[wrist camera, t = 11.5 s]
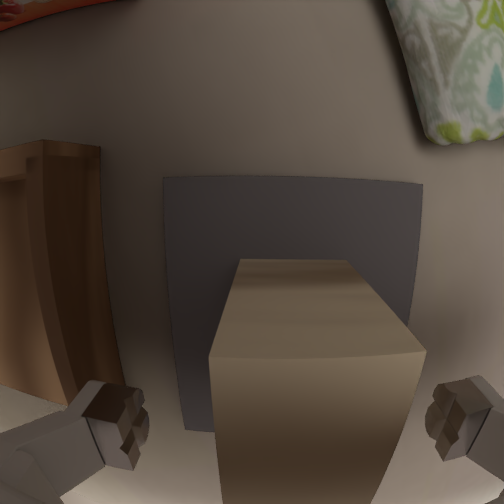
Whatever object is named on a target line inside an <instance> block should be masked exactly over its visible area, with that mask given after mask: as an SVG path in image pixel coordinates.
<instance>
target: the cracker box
mask: <svg viewBox="0 0 504 504" xmlns="http://www.w3.org/2000/svg"><path fill="white" fill-rule="evenodd" d="M108 1H114V0H0V31H2V30H5V29H7V28H10V27H12V26H15V25H18V24H21V23H24V22H27V21H30V20H33V19H36V18H40V17H43V16H46V15H50V14H53V13H57V12H61V11H65V10H69V9H73V8H78V7H82V6H87V5H92V4H96V3H103V2H108Z"/></svg>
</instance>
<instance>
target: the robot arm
mask: <svg viewBox="0 0 504 504" xmlns="http://www.w3.org/2000/svg"><path fill="white" fill-rule="evenodd" d="M433 398H434V400H435V401H434V402H433V403H432V404H431V405H430V406H429V407H428V410H427V413H426V416H425V427H426V431H427V433H428V435H429V437H431V438H433V439H434V440H436V445H435V448H436V449H437V451H438V453H439V455H440V457H441V459H442V460H443V462H444V461H448V460H451V459H455V458H459V457H462V456H465V455H467V456H466V457H468V458H469V459H471V460H472V461H474V462H475V463H477V464H478V465H480V466H481V467H483V468H484V469H486V470H487V471H489V472H490V473H492V474H493V475H495V476H496V477H498V478H499V479H501V480H502V481H504V399H503V398H502V397H501V396H500V395H499V394H498V393H497V392H496V391H495V389H494V388H493V387H492V386H491V385H490V384H489V383H488V382H487V381H486V380H485V379H484V378H483V377H482V376H479V375H477V376H473V377H469V378H466V379H463V380H458V381H453V382H448V383H442V384H438V385H437V387H436V388H435V390H434V393H433ZM144 401H145V399H144V396H143V392H142V390H141V389H139V388H135V387H129V386H123V385H118V384H112V383H106V382H101V381H96V380H90V381H88V382H87V383H86V385H85V386H84V387H83V388H82V390H81V391H80V392H79V393H78V395H77V396H76V397H75V398H74V400H73V401H72V402H71V403H70V405H69V406H68V407H67V409H66V410H65V411H64V412H62V411H57V412H55V413H52V414H50V415H47V416H45V417H42V418H40V419H37V420H35V421H32V422H30V423H27V424H24V425H22V426H19V427H16V428H14V429H11V430H8V431H5V432H3V433H0V504H64V503H63V501H62V500H61V499H60V496H62V495H63V494H65V493H66V492H68V491H69V490H71V489H73V488H74V487H76V486H77V485H79V484H80V483H82V482H83V481H85V480H86V479H87V478H89V477H90V476H92V475H93V474H95V473H96V472H98V471H99V470H101V469H102V468H103V467H105V465H108V466H112V467H117V468H122V469H127V470H132V471H134V468H135V466H136V464H137V461H138V459H139V457H140V451H139V448H138V447H140V446H141V445H143V444H145V442H146V440H147V437H148V432H149V417H148V412H147V411H146V410H145V409H144V408H143V407H142V405H143V403H144ZM485 504H504V489H503V490H502V492H501V493H500V495H499V497H498V498H496V499H494V500H492V501H490V502H488V503H485Z"/></svg>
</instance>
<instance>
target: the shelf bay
mask: <svg viewBox="0 0 504 504" xmlns="http://www.w3.org/2000/svg"><path fill="white" fill-rule="evenodd" d="M90 380H96V381H101V382H106V383H112V384H118V385H123V386H125V381H124V377H123V372H122V368H121V363H120V358H119V353H118V348H117V343H116V337H115V332H114V326H113V320H112V313H111V307H110V300H109V293H108V285H107V277H106V268H105V258H104V247H103V235H102V219H101V199H100V147H98V146H91V145H83V144H76V143H68V142H60V141H52V140H39V141H34V142H30V143H26V144H21V145H17V146H13V147H9V148H6V149H2V150H0V384H2V385H5V386H8V387H10V388H13V389H16V390H19V391H21V392H24V393H27V394H30V395H33V396H36V397H39V398H43V399H46V400H49V401H52V402H56V403H59V404H63V405H66V406H69V405H70V403H71V402H72V401H73V400H74V398H75V397H76V396H77V395H78V393H79V392H80V391H81V390H82V388H83V387H84V386H85V385H86V383H87V382H88V381H90Z"/></svg>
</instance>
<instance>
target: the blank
mask: <svg viewBox="0 0 504 504" xmlns="http://www.w3.org/2000/svg"><path fill="white" fill-rule="evenodd" d="M426 353H427V350H426V349H425V348H424V347H423V346H422V344H421V343H420V342H419V341H418V340H417V339H416V337H415V336H414V335H413V334H412V333H411V332H410V330H409V329H408V328H407V327H406V326H405V325H404V323H403V322H402V321H401V320H400V319H399V318H398V317H397V315H396V314H395V313H394V312H393V311H392V310H391V309H390V307H389V306H388V305H387V304H386V303H385V302H384V301H383V300H382V298H381V297H380V296H379V295H378V294H377V293H376V292H375V291H374V290H373V288H372V287H371V286H370V285H369V284H368V283H367V282H366V281H365V280H364V279H363V278H362V276H361V275H360V274H359V273H358V272H357V271H356V270H355V269H354V268H353V267H352V266H351V265H350V263H349V262H348V261H347V260H296V259H240V262H239V265H238V268H237V271H236V274H235V277H234V280H233V283H232V286H231V289H230V292H229V295H228V299H227V302H226V305H225V308H224V311H223V314H222V317H221V320H220V323H219V326H218V329H217V332H216V335H215V338H214V341H213V345H212V348H211V351H210V354H209V370H210V383H211V395H212V407H213V418H214V429H215V439H216V448H217V458H218V467H219V475H220V484H221V492H222V500H223V504H370V503H371V501H372V499H373V497H374V495H375V493H376V491H377V489H378V487H379V485H380V483H381V481H382V479H383V476H384V474H385V472H386V470H387V467H388V465H389V463H390V460H391V458H392V456H393V453H394V451H395V448H396V446H397V443H398V441H399V438H400V436H401V433H402V430H403V428H404V425H405V422H406V419H407V416H408V414H409V411H410V408H411V405H412V402H413V398H414V395H415V392H416V389H417V386H418V382H419V379H420V375H421V372H422V368H423V364H424V361H425V357H426Z"/></svg>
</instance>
